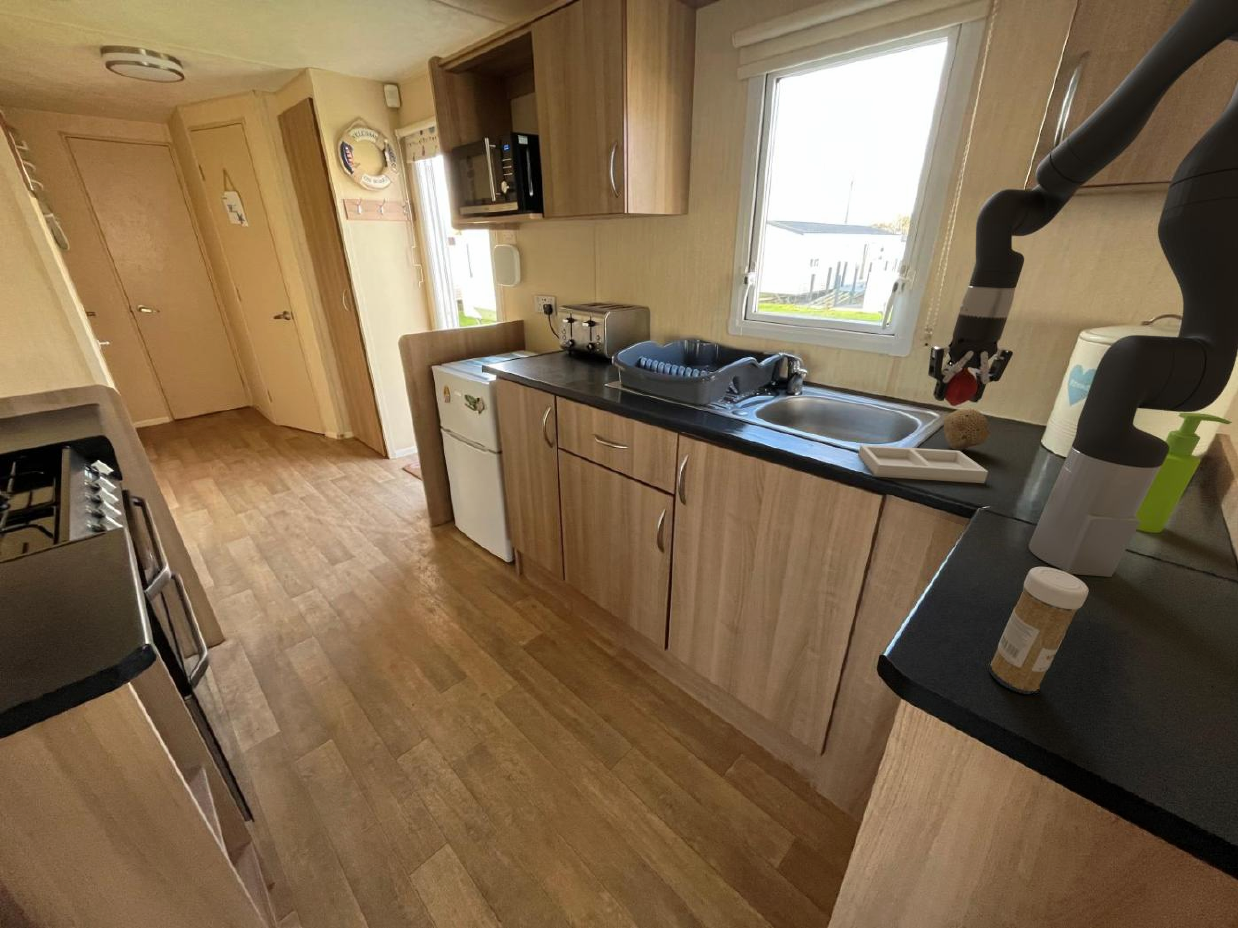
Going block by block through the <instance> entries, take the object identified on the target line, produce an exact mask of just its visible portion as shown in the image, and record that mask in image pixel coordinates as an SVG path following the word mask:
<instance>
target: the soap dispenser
mask: <svg viewBox="0 0 1238 928" xmlns="http://www.w3.org/2000/svg"><path fill="white" fill-rule="evenodd" d="M1178 417H1180V418H1182V419H1183V422H1182V424H1181V426H1180V428H1179V429H1177V430H1172V431H1170V432H1169V433H1168V435H1167V437H1166V439H1165V440H1164V441H1165V442H1166V443H1167V444H1168V445H1169V452H1168V454H1167V457H1166V459H1165V460H1164V462H1163V464H1162V466H1161V468H1160V470H1159V472H1158V474H1157V475H1156V477H1155V479H1154V481H1153V483H1152V485H1151V487H1150V489H1149V490H1148V492H1147V494H1146V496H1145V498H1144V500H1143V502H1142V504H1141V506H1140V508H1139V510H1138V511H1137V513H1136V515H1135V517H1136V518H1138V519H1139V520H1140V524H1139V526H1138V528H1137V529H1136V531H1141V532H1145V533H1153V534H1155V533H1161V532H1162V531H1163V530H1164V528H1165V526H1166V525H1167V523H1168V521H1169V519H1170V517H1171V516H1172V513H1173V512H1174V510H1175V508H1176V506H1177V504H1178V503H1179V501H1180V499H1181V497H1182V496H1183V494H1184V492H1185V491H1186V489H1187V487H1188V485H1189V483H1190V482H1191V479H1192V477H1193V476H1194V474H1195V472H1196V470H1197V469H1198V467H1199V465H1200V463H1201V462H1202V459H1200V457H1197V456H1195V455H1193V453H1194V451H1195V449H1196V447H1197V445H1198V443H1199V441H1200V439H1201V436H1199V435H1198V434H1197V433H1196V431H1197V429H1198V428H1199V426H1200V424H1201V422H1202V421H1207V422H1217V423H1221V424H1225V425H1230V424H1231V423H1233V422H1232V421H1230V420H1228V419H1225V418H1222V417H1220V416H1217V415H1211V414H1207V413H1197V412H1179V414H1178Z"/></svg>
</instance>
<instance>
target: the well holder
mask: <svg viewBox="0 0 1238 928" xmlns="http://www.w3.org/2000/svg"><path fill="white" fill-rule="evenodd" d="M857 456H858V457H859V459H860V460H861V461H862V462H863V463H864V465H865V466H866V467H867V468H868V469H869V470H870V472H871V473H872V474H873V475H874V476H875V477H881V478H894V479H895V478H896V479H898V478H899V479H913V480H927V481H928V480H930V481H945V482H961V483H962V482H963V483H974V484H975V483H976V484H977V483H978V484H979V483H980V484H985V482H986V479H987V476H988V473H989V471H988V470H987V469H985V468H984V467H982V466H981V465H980V464H978V463H977V462H976V461H974V460H973V459H971V458H970V457H968V456H967V455H966V454H964V453H963V452H962V451H961V450H954V449H934V448H917V447H901V446H900V447H899V446H885V445H884V446H882V445H881V446H880V445H864V444H863V445H862V444H861V445H859V450H858V454H857Z"/></svg>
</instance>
